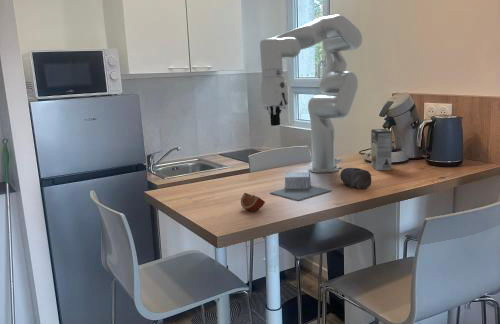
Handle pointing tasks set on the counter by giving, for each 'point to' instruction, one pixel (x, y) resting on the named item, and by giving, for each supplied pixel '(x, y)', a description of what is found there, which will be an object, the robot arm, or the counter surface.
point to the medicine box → (298, 180)
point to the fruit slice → (251, 202)
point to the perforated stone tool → (356, 177)
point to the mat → (300, 193)
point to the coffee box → (381, 149)
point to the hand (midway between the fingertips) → (275, 125)
